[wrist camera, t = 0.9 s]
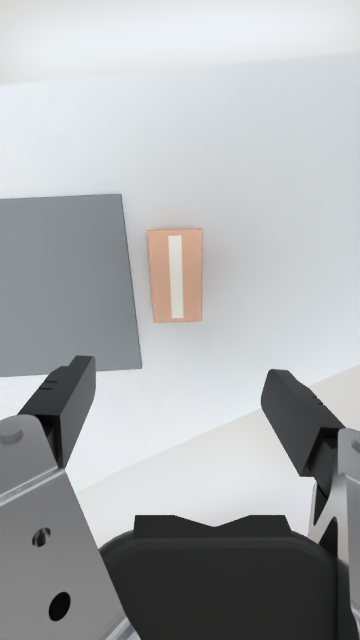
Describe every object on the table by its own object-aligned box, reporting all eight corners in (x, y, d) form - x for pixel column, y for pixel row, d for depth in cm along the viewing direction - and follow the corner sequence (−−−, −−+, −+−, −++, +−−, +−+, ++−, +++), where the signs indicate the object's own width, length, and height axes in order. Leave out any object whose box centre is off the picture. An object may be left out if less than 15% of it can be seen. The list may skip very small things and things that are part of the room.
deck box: (197, 228, 25) (202, 228, 21) (197, 308, 28) (201, 321, 24) (150, 230, 25) (146, 230, 21) (156, 310, 28) (153, 323, 24)
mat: (121, 194, 23) (120, 193, 23) (142, 366, 31) (141, 368, 30) (-63, 202, 23) (-67, 202, 23) (2, 375, 30) (0, 377, 30)
